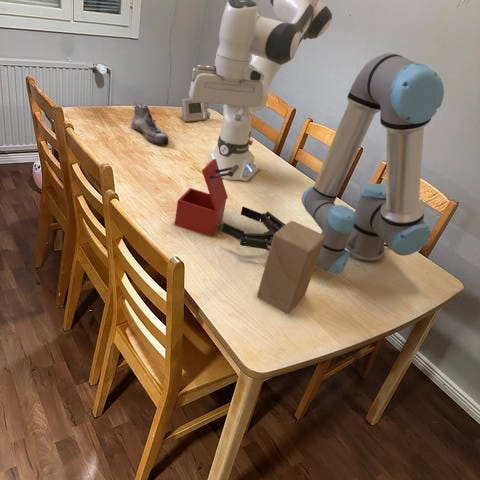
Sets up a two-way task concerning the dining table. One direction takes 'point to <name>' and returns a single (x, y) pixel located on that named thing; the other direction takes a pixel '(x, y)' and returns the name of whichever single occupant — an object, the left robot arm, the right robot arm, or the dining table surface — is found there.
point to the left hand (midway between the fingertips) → (222, 119)
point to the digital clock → (191, 110)
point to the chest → (198, 212)
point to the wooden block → (290, 265)
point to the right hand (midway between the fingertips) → (232, 218)
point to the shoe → (147, 125)
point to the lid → (217, 182)
